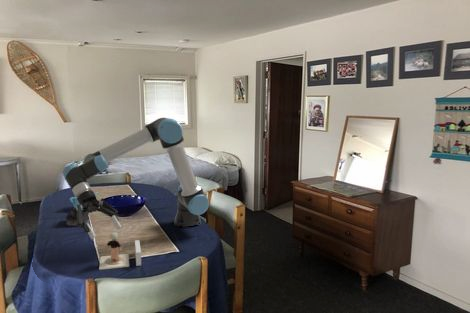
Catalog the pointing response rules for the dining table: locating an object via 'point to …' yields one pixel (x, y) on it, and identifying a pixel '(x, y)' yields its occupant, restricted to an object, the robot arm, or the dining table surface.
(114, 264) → the resting pad
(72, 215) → the crystal cluster
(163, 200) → the dining table surface
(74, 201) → the teapot
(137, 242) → the low wall
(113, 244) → the grandmother figurine
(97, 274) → the dining table surface
